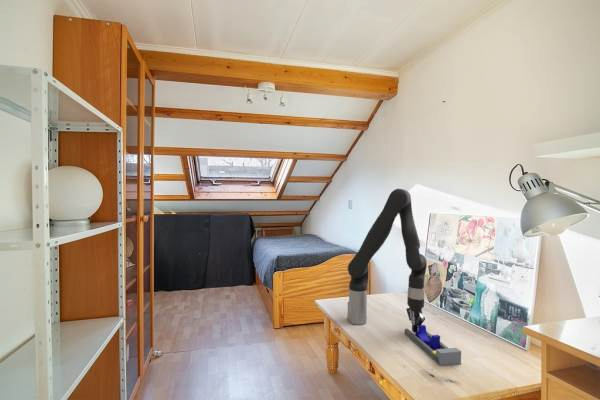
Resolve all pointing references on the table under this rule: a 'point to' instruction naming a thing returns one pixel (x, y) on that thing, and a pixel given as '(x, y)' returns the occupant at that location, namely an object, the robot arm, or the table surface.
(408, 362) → the table surface
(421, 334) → the blue u-shaped block
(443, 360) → the grey u-shaped bracket
